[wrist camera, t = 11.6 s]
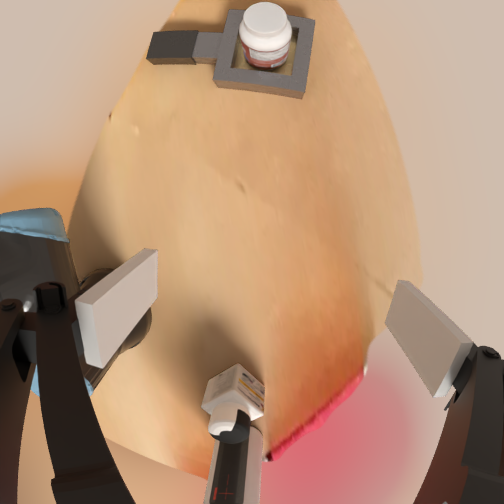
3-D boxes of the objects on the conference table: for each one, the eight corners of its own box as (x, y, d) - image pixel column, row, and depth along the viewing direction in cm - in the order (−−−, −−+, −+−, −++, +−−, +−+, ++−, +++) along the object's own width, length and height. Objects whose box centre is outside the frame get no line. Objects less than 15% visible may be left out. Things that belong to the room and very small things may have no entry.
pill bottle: (249, 33, 32) (243, -7, 22) (291, 41, 33) (298, 2, 22) (239, 67, 34) (229, 33, 23) (282, 76, 34) (288, 43, 24)
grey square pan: (148, 85, 37) (138, 78, 33) (165, 21, 33) (157, 11, 29) (301, 99, 36) (304, 92, 32) (311, 31, 33) (315, 20, 29)
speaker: (266, 425, 53) (260, 531, 28) (261, 449, 56) (255, 543, 31) (216, 419, 54) (194, 523, 29) (216, 445, 57) (198, 536, 32)
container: (265, 386, 50) (263, 439, 38) (235, 402, 52) (227, 452, 39) (238, 361, 49) (229, 414, 36) (207, 379, 50) (193, 430, 38)
